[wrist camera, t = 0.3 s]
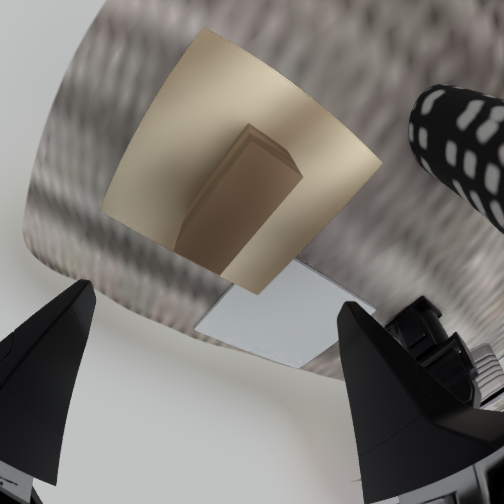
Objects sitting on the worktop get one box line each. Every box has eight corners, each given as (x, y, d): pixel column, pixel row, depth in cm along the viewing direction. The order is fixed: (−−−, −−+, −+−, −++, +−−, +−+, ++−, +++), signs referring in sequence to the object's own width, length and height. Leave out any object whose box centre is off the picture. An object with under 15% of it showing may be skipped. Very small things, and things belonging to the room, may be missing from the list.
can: (497, 337, 39) (521, 381, 29) (472, 369, 46) (489, 410, 36) (464, 349, 39) (488, 400, 29) (437, 381, 45) (455, 427, 36)
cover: (377, 158, 15) (418, 192, 11) (257, 287, 20) (261, 341, 17) (206, 29, 11) (190, 9, 7) (104, 204, 16) (69, 248, 12)
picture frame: (374, 307, 29) (376, 310, 29) (297, 365, 35) (298, 368, 35) (269, 242, 24) (270, 245, 23) (194, 326, 30) (193, 329, 29)
